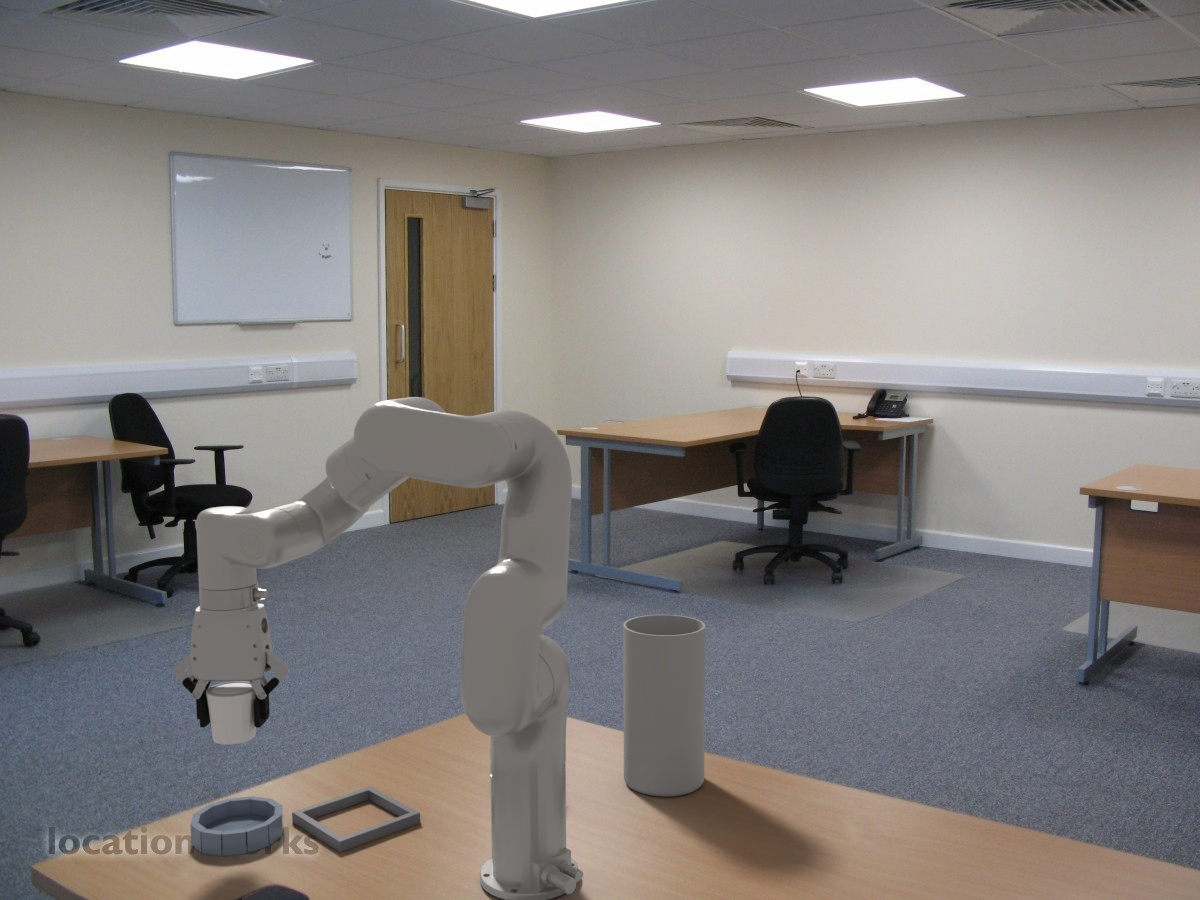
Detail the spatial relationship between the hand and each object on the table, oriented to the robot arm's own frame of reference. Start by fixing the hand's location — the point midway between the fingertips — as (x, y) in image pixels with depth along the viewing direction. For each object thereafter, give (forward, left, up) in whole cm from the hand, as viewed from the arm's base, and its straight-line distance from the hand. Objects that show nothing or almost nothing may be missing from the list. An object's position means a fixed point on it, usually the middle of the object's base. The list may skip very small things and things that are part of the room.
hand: (233, 723), depth 153 cm
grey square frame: (-8, -14, -16) cm, 23 cm away
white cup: (0, 0, -2) cm, 2 cm away
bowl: (0, 0, -16) cm, 16 cm away
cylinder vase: (-29, -56, -16) cm, 65 cm away
